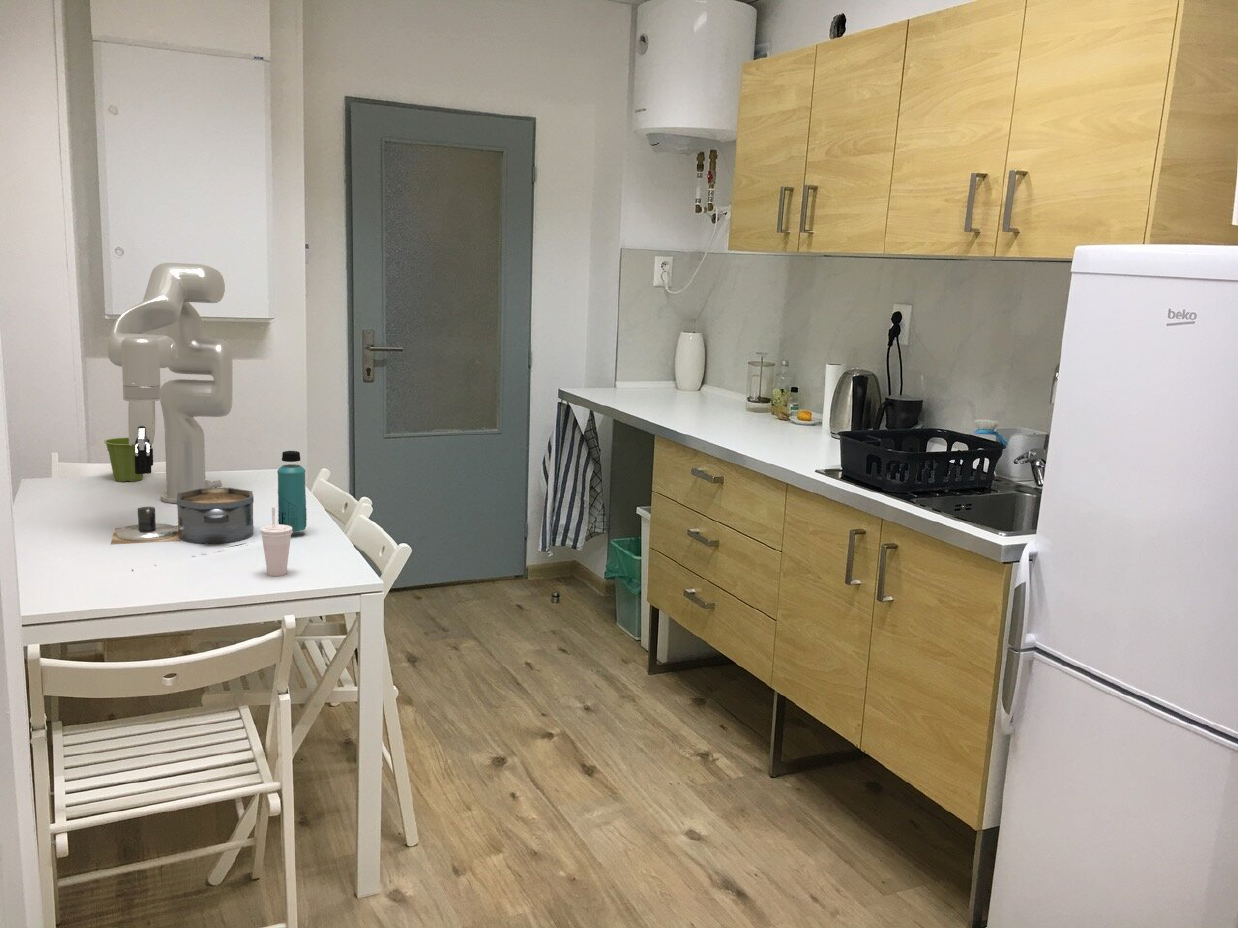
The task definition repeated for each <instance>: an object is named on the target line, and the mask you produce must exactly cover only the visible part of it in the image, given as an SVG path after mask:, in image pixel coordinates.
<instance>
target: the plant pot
mask: <svg viewBox="0 0 1238 928" xmlns="http://www.w3.org/2000/svg"><path fill="white" fill-rule="evenodd" d="M103 442H104V444H105V445H106V448H107V452H108V455H109V460H110V466H111V471H112V474H113V479H114V481H116V482H120V483H121V482H122V483H123V482H127V481H128V482H133V483H134V482H139V481H141V480H143V478H144V474H136V473H135V456H136V454H135V451H136V444H133V445H132V446H130V445H129V437H113V438H108V439H105V440H104V441H103ZM135 443H136V441H135Z"/></svg>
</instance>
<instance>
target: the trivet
mask: <svg viewBox="0 0 1238 928" xmlns="http://www.w3.org/2000/svg"><path fill="white" fill-rule="evenodd" d="M174 526H175V527H177V534H176V535H175V536H173V537H170V538H167V539H163V540H156V541H144V542H136V541H126V540H121V539H119V538H118V537H117V530H119V529H121V528H122V527H115V529H114V532H113V535H112V538H111V541H110V545H123V544H145V543H165V542H168V543H169V542H181V541H182V540H180V539H179V537H178V525H174Z"/></svg>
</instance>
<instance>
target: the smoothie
mask: <svg viewBox="0 0 1238 928" xmlns="http://www.w3.org/2000/svg"><path fill="white" fill-rule="evenodd" d="M275 511H276V507H275V506H272V507H271V524H268V525H264V526H262V527H260V528H259V529H260V530H259V531H260V532H259V534H260V535H261V538H262V544H263V546H262V547H263V553H264V561H265V566H266V573H267V575H268V576H269V577H282V576H285V575H286V574H287V571H288V563H289V562H288V561H289V554H290V546H291V537H292V534H293V533H294V532H293V531H292V527H291V526H288V525H280V524H279V523H277V524H276V512H275Z"/></svg>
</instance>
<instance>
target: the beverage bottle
mask: <svg viewBox="0 0 1238 928" xmlns="http://www.w3.org/2000/svg"><path fill="white" fill-rule="evenodd" d="M281 461H282V462H285V463H291V464H283V465H281V466H280V467H279V468H278V469H277V498H278V499H277V508H278V509H277V524H280V525H288V526H291V527H292V531H293V533H295V532H300V531H305V530H306V528H307V526H308V525H307V523H308V522H307V520H308V519H307V515H308V514H307V499H306V498H307V496H306V469H305V468H304V467H303V466H302V465H300V464H293V463H295V462H296V463H298V462H301V452H300V451H297V450H285V451H282V453H281Z"/></svg>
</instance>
